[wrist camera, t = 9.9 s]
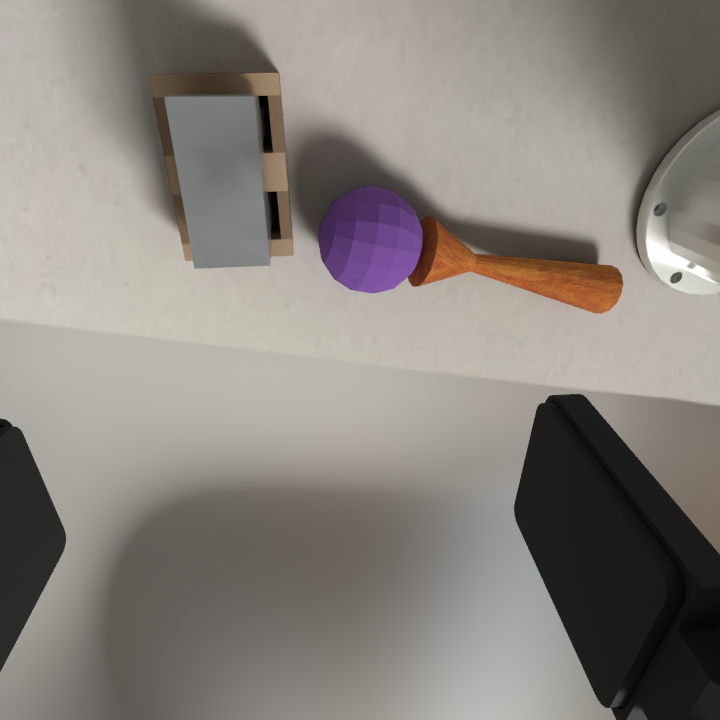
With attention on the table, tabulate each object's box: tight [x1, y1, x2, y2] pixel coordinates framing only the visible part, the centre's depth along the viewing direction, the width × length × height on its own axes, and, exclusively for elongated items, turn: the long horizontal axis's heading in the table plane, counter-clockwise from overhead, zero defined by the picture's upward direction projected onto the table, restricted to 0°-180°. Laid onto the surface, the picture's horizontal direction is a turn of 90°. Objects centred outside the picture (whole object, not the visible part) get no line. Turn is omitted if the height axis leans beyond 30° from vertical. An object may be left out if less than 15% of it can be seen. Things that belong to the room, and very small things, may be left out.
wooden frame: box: [148, 73, 293, 261], centre depth 27 cm, size 6×9×3 cm, turn 1°
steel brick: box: [164, 94, 273, 268], centre depth 25 cm, size 4×7×7 cm, turn 0°
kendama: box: [318, 186, 623, 314], centre depth 30 cm, size 6×6×20 cm
